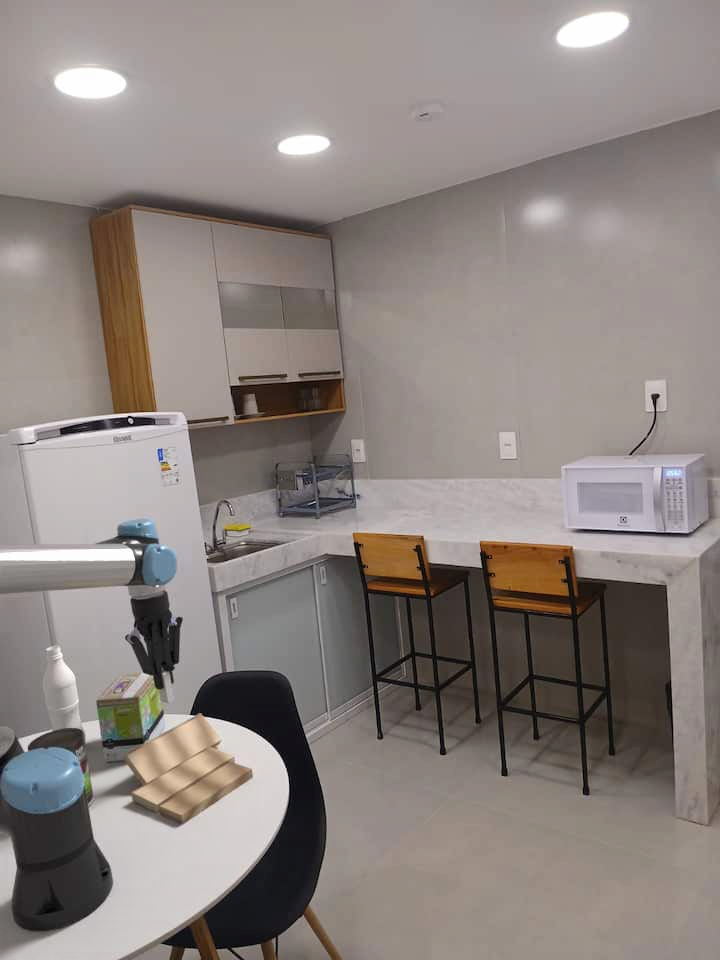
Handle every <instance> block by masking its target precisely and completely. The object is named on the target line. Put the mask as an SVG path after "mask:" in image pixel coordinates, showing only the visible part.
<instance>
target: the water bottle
mask: <svg viewBox="0 0 720 960" xmlns="http://www.w3.org/2000/svg"><path fill="white" fill-rule="evenodd" d="M45 652H46V659H45V660H46V661H47V666H46V670H45V672H44V675H43V679H42V683H41V685H42V686H41V687H42V689H43V694H44V699H45V707H46V710H47V713H48V715H49V718H50V722H51V728H52V729H51V730H52V731H55V730H59V729H64V728H78V729H81V730H82V731H83V735H84V737H83V739H84V744H86V741H87V740H86V739H87V738H86V731H85V729H84V727H83V724H82V721H81V718H80V717H81V716H80V711H79V702H80V699H79V694H78V693H79V692H78V689H77V684H76V679H77V678H76V676H75V674H74V673H73V671H72V670H71V668H69V666H68V665H67V664H66V663H65V662H64V659H63V657H64V655H63V653H62V652H61V646H60V645H52V646H50V647H47V648H46V649H45Z"/></svg>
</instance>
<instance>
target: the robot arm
mask: <svg viewBox="0 0 720 960" xmlns="http://www.w3.org/2000/svg"><path fill="white" fill-rule="evenodd" d="M116 530H117V535H116V536H115V537H111V538H109V539H106V540H103V541H99V542H95V543H89V544H87V543H76V544H75V543H73V544H72V543H71V544H70V543H69V544H68V543H64V544H61V543H57V544H54V543H53V544H51V543H48V544H46V543H45V544H42V543H40V544H39V543H38V544H36V543H35V544H32V543H31V544H29V543H28V544H27V543H26V544H24V543H23V544H0V595H8V594H22V593H24V594H26V593H37V592H40V593H41V592H51V591H52V592H55V591H67V590H82V589H84V590H85V589H97V588H111V587H112V588H114V587H127V591H128V596H129V597H131V598H130V599H129V601H130V606H131V612H132V615H133V618H134V623H133V630H132V631H131V632H130V634H129V633H128V634H126V635H125V637H124V639H125V641H126V642H128V644H129V645H130V646H131V648H132V650H133V652H134V655H135V657H136V660H137V662H138V663H139V666H140V668H141V670H142V673H144V674H148V675H151V676H152V675H153V678H154V684H155V687H156V689H159V694H160V699H161V701H162V703H166V704H171V703H173V702H175V696H174V691H173V684H174V682H175V680H174V679H175V678H174V674H173V671H175V669H176V666H175V665H177V664H179V663H180V645H181V627H182V623H183V620H184V619H183V617H181V616H176V615H174V614H173V613H172V611H171V610H170V605H171V604H170V599H169V594H168V591H166V589H167V585H168V584H169V583H170V582H171V581H172V580H173V579H174V578H175V575H176V573H177V569H178V557H177V555H176V552H175V551H174V550H173V548H171V547H170V546H168V545H166V544H160V540H159V539H160V537H159V536H158V532H157V528H156V524H155V522H154V520H152V519H150V518H139V519H138V518H136V519H132V520H127V521H123V522H122V523H120V524H118V525H117V529H116ZM140 635H141V636H140ZM142 637H143V641H144V643H145V645H146V648H145V645H144V644H143V642H142V641H141V640H142ZM0 831H1V832H2V833H5V834H7V835H9V836H10V838H11V842H12V844H11V845H12V848H13V853H14V858H15V864H16V871H15V878H14V883H13V890H12V894H11V895H12V896H11V900H10V901H11V902H10V903H11V910H12V911H11V912H12V916H13V917H12V918H13V920H14V921H13V922H15V924H16V926H18V927H19V928H21V929H23V930H25V931H31V932H46V931H50V930H56V929H59V928H62V927H65V926H68V925H70V924H73V923H75V922H77V921H80V920H81V919H83V918H84V917H86V916H88V915H89V914H90V913H91V914H92V912H94V911H95V910H97V909H98V908H99V907H100V906H101V905H102V904H103V902H104V901H105V900H106V899H107V897H108V896H109V895H110V893H111V891H112V890H113V886H114V885H113V884H114V879H113V874H112V873H113V872H112V869H111V865H110V863H109V861H108V859H107V858H106V856H105V855H104V852H103V851H102V850H101V848H100V847H99V845H98V843H97V841H96V840H95V838H94V837H95V836H94V833H93V832H94V831H93V826H92V821H91V815H90V810H89V807H88V802H87V796H86V790H85V778H84V774H83V772H82V769H81V766H80V762H79V760H78V758H77V757H76V756H75V755H74V754H73V753H72V752H70V751H69V750H66V749H63V748H57V747H50V748H48V749H44V748H39V749H34V750H30V751H28V750H27V751H25V750H24V748H23V747H22V744H21V743H20V740H19V739H18V737H17V735H16V732H15V731H14V730H13V729H12V728H11V727H9V726H3V725H2V726H0Z"/></svg>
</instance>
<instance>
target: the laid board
mask: <svg viewBox="0 0 720 960" xmlns="http://www.w3.org/2000/svg"><path fill="white" fill-rule="evenodd" d="M253 778H254V774H253V769H252V768H251V767H247V766H245V765H242V764H238V763H236V762H235V763H233V762H230V761H228V762H226V763H224V764H223V765H221V766H220V767H218V768H216V769H215V770H213V771H212V772H210V773H208V774H207V775H205V776H204V777H202V778H200V779H199V780H197V781H196V782H194V783H192V784H191V785H189V786H188V787H186V788H185V789H183V790H181V791H180V792H178V793H177V794H175V795H173V796H172V797H170V798H169V799H167V800H165V801H164V802H162V803H161V804H159V805H158V808H159V813H158V814H159V815H160V816H162V817H165V818H167V819H170V820H173V821H174V822H177V823H178V824H182V825H184V824H185V823H187V822H189V821H190V820H192V819H193V818H194V817H196V816H198V815H199V814H200V813H202V812H204V811H205V810H206V809H207V808H210V807H211V806H212V805H214V804H216V802H218V801H220V800H221V799H222V798H224V797H226V796H227V795H228V794H230V793H231V792H233V791H234V790H236V789H238V788H239V787H240V786H242V785H243V784H245V783H247V782H248V781H249V780H251V779H253Z"/></svg>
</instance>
